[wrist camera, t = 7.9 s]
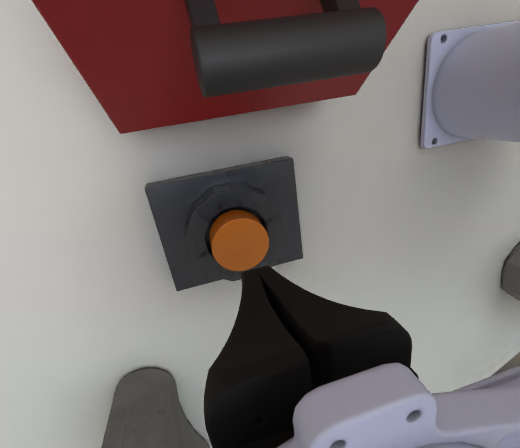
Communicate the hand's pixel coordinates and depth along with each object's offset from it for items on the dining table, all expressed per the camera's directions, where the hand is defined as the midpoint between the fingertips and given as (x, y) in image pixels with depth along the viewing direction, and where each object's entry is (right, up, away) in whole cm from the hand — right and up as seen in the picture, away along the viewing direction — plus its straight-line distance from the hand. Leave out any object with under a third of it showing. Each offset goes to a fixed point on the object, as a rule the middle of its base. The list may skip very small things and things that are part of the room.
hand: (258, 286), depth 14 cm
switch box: (-2, +3, +8) cm, 9 cm away
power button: (-2, +2, +6) cm, 6 cm away
